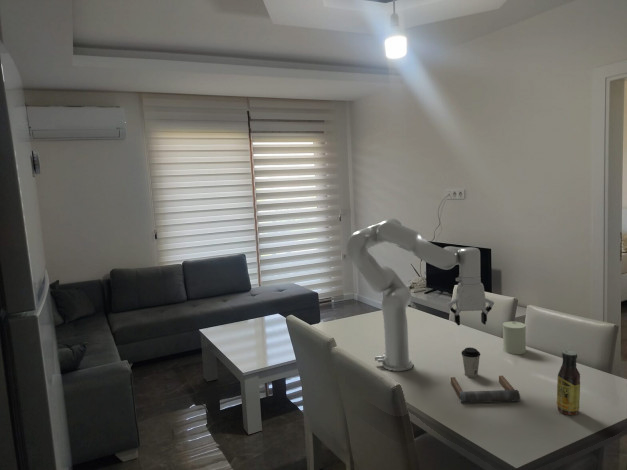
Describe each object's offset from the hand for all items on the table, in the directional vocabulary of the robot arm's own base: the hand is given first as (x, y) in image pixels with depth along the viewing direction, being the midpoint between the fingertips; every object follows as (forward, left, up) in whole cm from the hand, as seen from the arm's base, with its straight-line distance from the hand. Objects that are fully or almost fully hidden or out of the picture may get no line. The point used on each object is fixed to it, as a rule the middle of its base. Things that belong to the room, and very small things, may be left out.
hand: (470, 323), depth 168 cm
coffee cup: (0, 0, -21) cm, 21 cm away
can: (+25, +23, -21) cm, 39 cm away
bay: (0, -15, -20) cm, 25 cm away
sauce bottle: (+22, -29, -21) cm, 42 cm away
